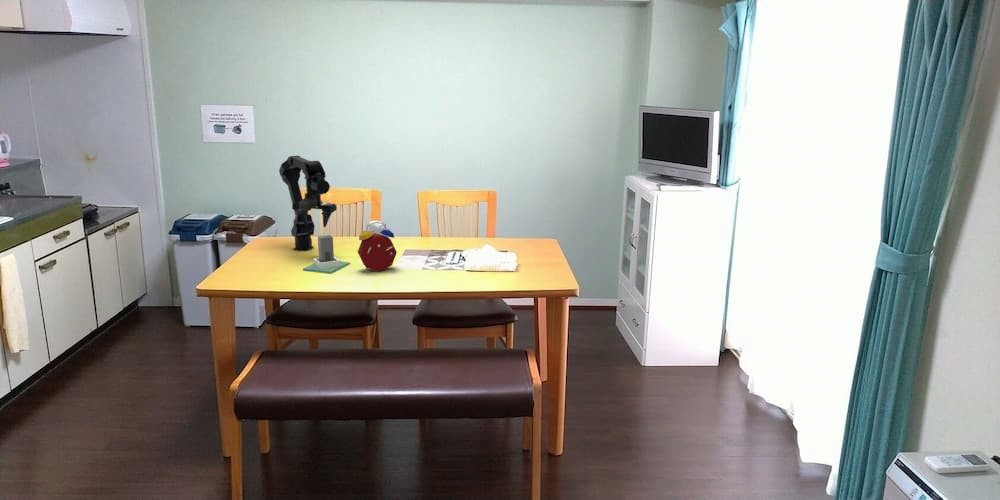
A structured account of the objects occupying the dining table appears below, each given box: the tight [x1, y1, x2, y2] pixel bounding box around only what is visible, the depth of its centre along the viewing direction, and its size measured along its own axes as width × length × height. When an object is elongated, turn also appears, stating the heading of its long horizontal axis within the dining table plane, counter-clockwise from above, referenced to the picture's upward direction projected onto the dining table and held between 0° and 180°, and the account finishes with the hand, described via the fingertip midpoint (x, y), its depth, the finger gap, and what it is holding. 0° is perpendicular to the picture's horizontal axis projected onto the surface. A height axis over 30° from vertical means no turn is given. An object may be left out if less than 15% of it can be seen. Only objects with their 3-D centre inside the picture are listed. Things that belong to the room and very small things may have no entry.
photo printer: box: [368, 220, 387, 236], centre depth 328 cm, size 10×4×12 cm, turn 39°
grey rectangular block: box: [317, 234, 335, 263], centre depth 295 cm, size 5×5×12 cm
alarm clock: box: [357, 222, 398, 273], centre depth 291 cm, size 15×9×20 cm, turn 111°
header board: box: [302, 256, 351, 274], centre depth 297 cm, size 13×15×3 cm
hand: (315, 226), depth 312 cm, fingers open, 9 cm apart
